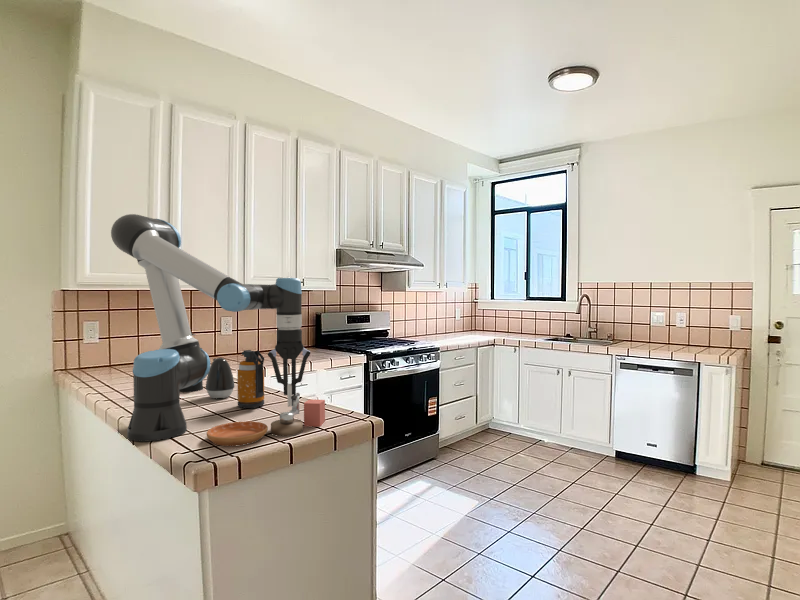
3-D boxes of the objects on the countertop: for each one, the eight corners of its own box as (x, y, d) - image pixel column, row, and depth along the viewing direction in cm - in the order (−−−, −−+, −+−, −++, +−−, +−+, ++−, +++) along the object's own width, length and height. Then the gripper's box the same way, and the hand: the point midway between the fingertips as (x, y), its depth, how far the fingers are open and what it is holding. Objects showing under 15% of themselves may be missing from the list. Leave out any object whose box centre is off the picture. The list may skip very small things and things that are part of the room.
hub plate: (265, 435, 133) (265, 426, 133) (278, 426, 142) (278, 417, 142) (296, 437, 132) (296, 427, 132) (307, 427, 141) (307, 418, 141)
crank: (291, 424, 135) (291, 402, 135) (277, 423, 135) (277, 401, 135) (304, 413, 147) (303, 392, 147) (291, 412, 147) (291, 392, 147)
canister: (254, 402, 173) (254, 347, 173) (273, 406, 166) (272, 350, 166) (232, 406, 166) (232, 350, 166) (250, 411, 159) (250, 352, 159)
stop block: (304, 426, 143) (303, 403, 142) (309, 421, 148) (309, 399, 147) (320, 426, 142) (319, 403, 142) (325, 422, 147) (324, 399, 147)
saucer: (197, 439, 131) (197, 428, 131) (251, 427, 142) (251, 417, 142) (221, 453, 120) (221, 441, 119) (278, 439, 131) (278, 429, 130)
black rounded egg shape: (227, 393, 188) (226, 355, 188) (239, 397, 181) (238, 357, 180) (201, 397, 181) (200, 357, 181) (212, 401, 174) (212, 360, 173)
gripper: (266, 330, 139) (267, 409, 140) (310, 329, 141) (311, 407, 142) (268, 327, 147) (269, 403, 147) (310, 327, 149) (311, 401, 150)
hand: (289, 405), depth 145 cm, fingers closed
